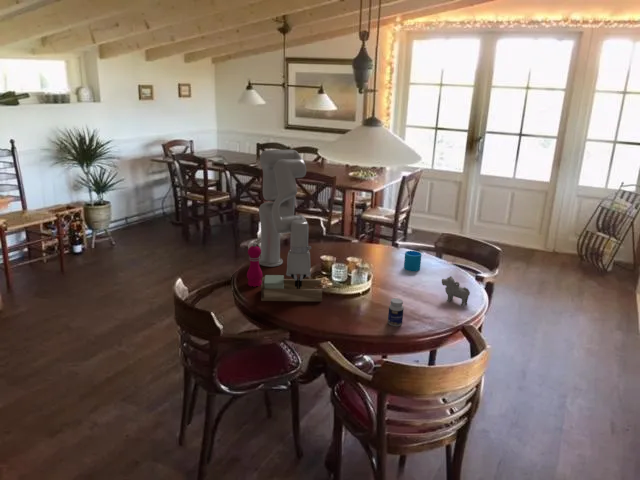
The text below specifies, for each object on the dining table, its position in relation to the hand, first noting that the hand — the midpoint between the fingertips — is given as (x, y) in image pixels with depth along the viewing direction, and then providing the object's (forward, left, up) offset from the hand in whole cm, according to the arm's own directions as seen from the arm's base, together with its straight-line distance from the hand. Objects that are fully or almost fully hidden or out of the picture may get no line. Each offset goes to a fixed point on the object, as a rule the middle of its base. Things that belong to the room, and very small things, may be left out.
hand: (298, 287), depth 231 cm
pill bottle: (+26, +38, -4) cm, 47 cm away
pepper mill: (-12, -20, -4) cm, 23 cm away
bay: (0, -3, -4) cm, 4 cm away
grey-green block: (0, -10, -2) cm, 11 cm away
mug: (-36, +58, -4) cm, 68 cm away
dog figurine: (+5, +68, -4) cm, 68 cm away
